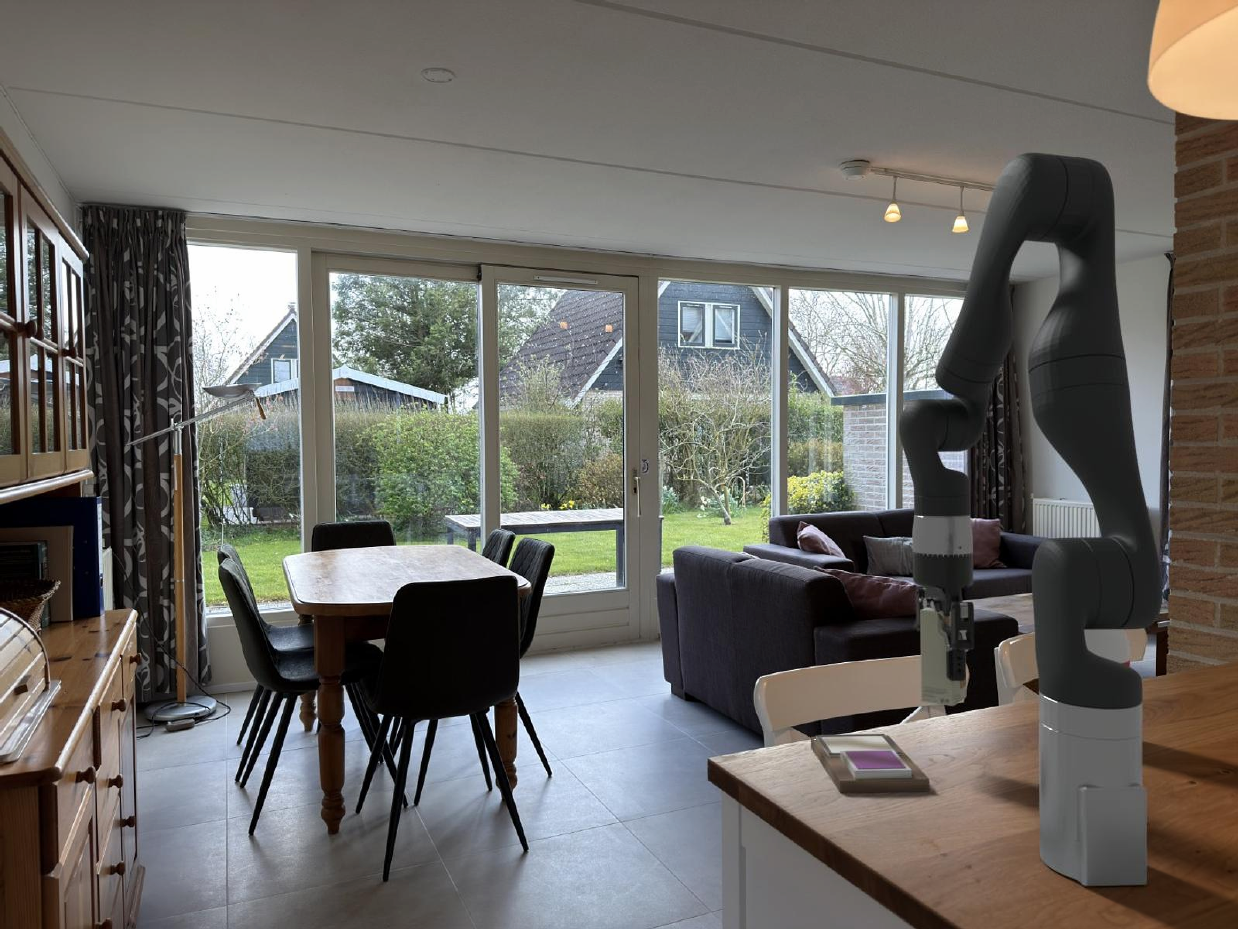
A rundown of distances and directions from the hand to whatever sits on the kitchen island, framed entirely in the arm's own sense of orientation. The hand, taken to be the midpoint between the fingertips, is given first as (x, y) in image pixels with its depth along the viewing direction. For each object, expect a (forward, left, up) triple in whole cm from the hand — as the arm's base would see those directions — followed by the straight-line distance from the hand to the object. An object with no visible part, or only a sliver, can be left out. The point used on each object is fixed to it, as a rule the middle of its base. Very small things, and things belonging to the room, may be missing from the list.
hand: (944, 672), depth 116 cm
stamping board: (-1, +11, -12) cm, 16 cm away
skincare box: (0, 0, -4) cm, 4 cm away
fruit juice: (+8, -24, -12) cm, 29 cm away
